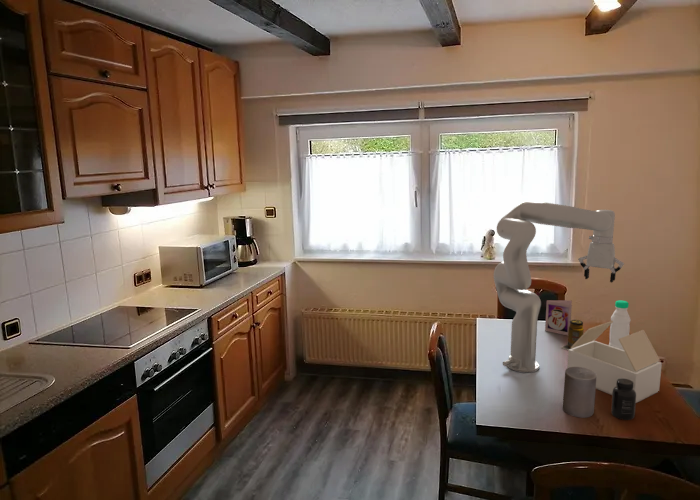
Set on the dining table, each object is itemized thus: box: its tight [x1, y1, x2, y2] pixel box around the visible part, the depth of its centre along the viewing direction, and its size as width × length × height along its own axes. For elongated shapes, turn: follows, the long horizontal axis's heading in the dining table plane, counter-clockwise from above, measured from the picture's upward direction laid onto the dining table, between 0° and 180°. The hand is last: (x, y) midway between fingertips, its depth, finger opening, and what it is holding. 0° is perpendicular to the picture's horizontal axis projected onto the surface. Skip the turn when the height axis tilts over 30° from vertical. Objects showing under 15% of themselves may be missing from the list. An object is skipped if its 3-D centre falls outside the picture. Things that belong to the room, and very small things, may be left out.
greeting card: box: [544, 299, 573, 336], centre depth 244 cm, size 11×7×15 cm, turn 50°
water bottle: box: [608, 299, 631, 350], centre depth 210 cm, size 7×7×25 cm
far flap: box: [571, 320, 613, 349], centre depth 196 cm, size 15×12×1 cm
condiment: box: [561, 319, 585, 351], centre depth 225 cm, size 7×8×12 cm
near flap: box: [619, 329, 661, 371], centre depth 181 cm, size 15×12×1 cm
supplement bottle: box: [610, 378, 637, 421], centre depth 169 cm, size 7×7×12 cm
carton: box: [566, 340, 663, 404], centre depth 191 cm, size 16×26×11 cm, turn 32°
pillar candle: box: [562, 367, 597, 419], centre depth 172 cm, size 10×10×15 cm
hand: (599, 280), depth 217 cm, fingers open, 9 cm apart
